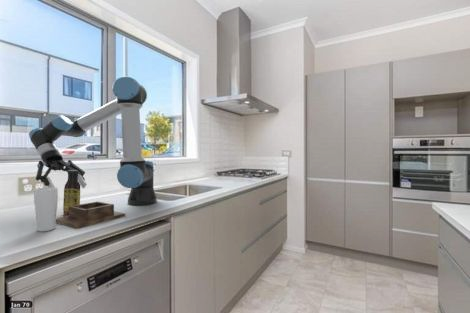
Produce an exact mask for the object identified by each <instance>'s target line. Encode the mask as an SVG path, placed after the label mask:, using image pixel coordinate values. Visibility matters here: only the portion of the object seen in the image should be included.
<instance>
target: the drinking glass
mask: <svg viewBox="0 0 470 313" xmlns="http://www.w3.org/2000/svg"><path fill="white" fill-rule="evenodd" d="M58 189H59V188H58V187H56V186H55V187H48V186H45V187H37V188H35V189H33V190H34V191H33V205H34V211H35V212H34V213H35V221H36V231H37V232H48V231H52V230H54V229H56V224H57V222H56V219H57V212H58V211H57V210H58V202H59V200H58V198H59V195H58V193H59V192H58Z"/></svg>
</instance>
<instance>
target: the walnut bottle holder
mask: <svg viewBox="0 0 470 313" xmlns="http://www.w3.org/2000/svg"><path fill="white" fill-rule="evenodd" d="M123 217H126V213H125V212H121V211H116V210H115V204H114V203H109V202H108V203H107V202H102V201H92V202H86V203H80V205H75V206H69V215H66V216H64V217H59V218H58V217H57V218H56V224H57V223H58V224H61V225H64V226H66V227H71V228H73V229H80V228H84V227H88V226H92V225H93V226H94V225H96V224H99V223H104V222H107V221H112V220H116V219H119V218H123Z"/></svg>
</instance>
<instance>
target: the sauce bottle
mask: <svg viewBox="0 0 470 313" xmlns="http://www.w3.org/2000/svg"><path fill="white" fill-rule="evenodd" d="M78 175H79V174H78V170H68V172H67V181H66V182H65V184H64V188H63V205H62V207H63V208H62V210H63V212H62V214H63V215H65V216H69V206H75V205H80V204H81V185H80V183H79V181H78Z"/></svg>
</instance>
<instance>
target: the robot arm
mask: <svg viewBox="0 0 470 313" xmlns="http://www.w3.org/2000/svg"><path fill="white" fill-rule="evenodd" d="M112 93H113V95H114V96H115V97H116V99H114V100H112V101H110V102H108V103H106V104H104V105H103V106H101V107H99V108H97V109H95V110H93V111H91V112H89V113H87V114H85V115H83V116H81V117H80V118H79V117H78V118H77V119H76V120H73V121H71V119H70V118H69V117H66V116H65V115H62V114H58V115H57V116H56V117H54V118H53V119H52V120H51V121H49V123H47V124H46V125H45V126H43V128H42V127H35V128H34V129H33V128H32V129H31V130H30V131H29V132H28V137H29V139H30V142H31V143H32V144H33V146H34V148H35V150H36V151H37V153H38V155H39V158H41V160H39V161H38V163H37V165H36V166H37V172H36V175H35V180H36V181H40V182H41V183H43V184H44V186H45V187H56V186H55V185H54V182H52V180H51V178H50V177H49V174H50V173H51V172H52V171H63V172H67V173H68V170H78V182H79V184H80V187H81V188H82V189H85V188H86V186H87V182H86V180H85V179H86V178H85V177H84V175H85V174H86V171H85V170H83V169H82V168H81V167H79V166H78V165H77V164H75V163H74V162H73V161H72V160H71V159H69V160H67V161H65V160H64V158H63V155H62V154H61V153H60V150H59V149H58V148H57V146H56V144H55V142H56V141H57V140H58V139H60V138H61V137H63V136H65V137H73V138H79V137H80V138H82V137H84V135H85V134H86V132H87V131H90V130H92V129H94V128H95V127H98V126H99V125H102V124H104V123H105V122H107V121H110V120H111V119H113V118H115V117H117V116H118V115H120V120H121V140H122V158H121V159H120V160H119V169H118V170H117V173H116V179H117V181H118V183H119V185H120V186H123V187H124V188H126V189H130V191H129V195H128V197H127V204H128V205H131V206H145V205H152V204H154V203H157V202H158V201H157V200H158V198H157V195H156V192H155V187H154V168H155V166H154V162H152V161H149V160H146V159H145V158H144V157H143V155H142V154H143V153H142V152H143V151H142V134H141V116H140V115H141V113H140V110H141V108H143V105H144V104H145V102H146V100H147V99H148V97H147V96H148V94H147V93H148V92H147V91H146V89H145V87H144V86H143V85H141V84H140V83H139V82H138V81H137V80H136V79H135V78H132V77H131V76H127V75H123V76H120V77H117V79H116V80H114V82H113V83H112ZM44 167H47V170H46V171H45V173H44V174H43V171H44ZM42 174H43V175H42Z"/></svg>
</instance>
